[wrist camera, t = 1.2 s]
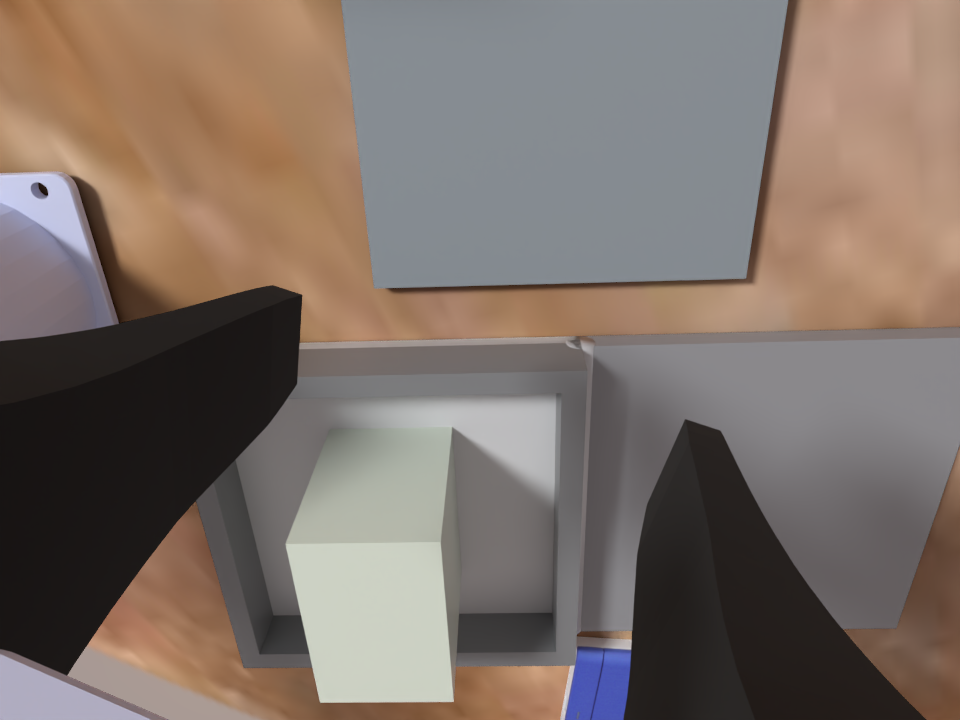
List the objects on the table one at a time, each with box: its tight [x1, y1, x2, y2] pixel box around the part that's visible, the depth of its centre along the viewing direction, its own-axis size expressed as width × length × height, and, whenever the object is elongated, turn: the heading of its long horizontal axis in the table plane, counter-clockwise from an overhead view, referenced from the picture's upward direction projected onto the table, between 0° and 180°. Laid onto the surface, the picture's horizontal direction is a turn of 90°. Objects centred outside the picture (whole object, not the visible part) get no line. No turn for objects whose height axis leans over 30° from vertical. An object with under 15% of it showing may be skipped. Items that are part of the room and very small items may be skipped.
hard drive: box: [560, 636, 632, 720], centre depth 33 cm, size 2×8×12 cm
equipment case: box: [196, 327, 960, 668], centre depth 26 cm, size 27×14×2 cm, turn 92°
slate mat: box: [341, 0, 788, 288], centre depth 20 cm, size 12×12×1 cm
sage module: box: [286, 427, 462, 703], centre depth 24 cm, size 4×7×6 cm, turn 2°
